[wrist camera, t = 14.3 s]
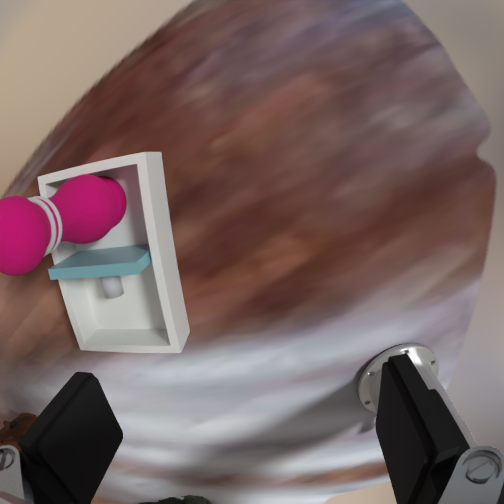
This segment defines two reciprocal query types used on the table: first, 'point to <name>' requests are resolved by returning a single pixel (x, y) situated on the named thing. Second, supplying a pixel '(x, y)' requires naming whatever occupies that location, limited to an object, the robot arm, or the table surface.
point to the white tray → (135, 286)
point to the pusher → (104, 266)
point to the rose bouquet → (187, 503)
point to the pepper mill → (57, 220)
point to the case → (16, 430)
